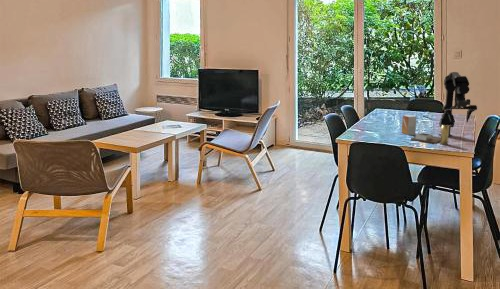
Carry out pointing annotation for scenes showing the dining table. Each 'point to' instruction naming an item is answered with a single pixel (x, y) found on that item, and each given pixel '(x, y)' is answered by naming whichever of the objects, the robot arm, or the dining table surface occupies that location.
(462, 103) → the robot arm
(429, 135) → the hinge clip
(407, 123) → the small box
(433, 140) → the cabinet panel
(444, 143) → the hinge pin
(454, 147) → the dining table surface
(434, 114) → the dining table surface
